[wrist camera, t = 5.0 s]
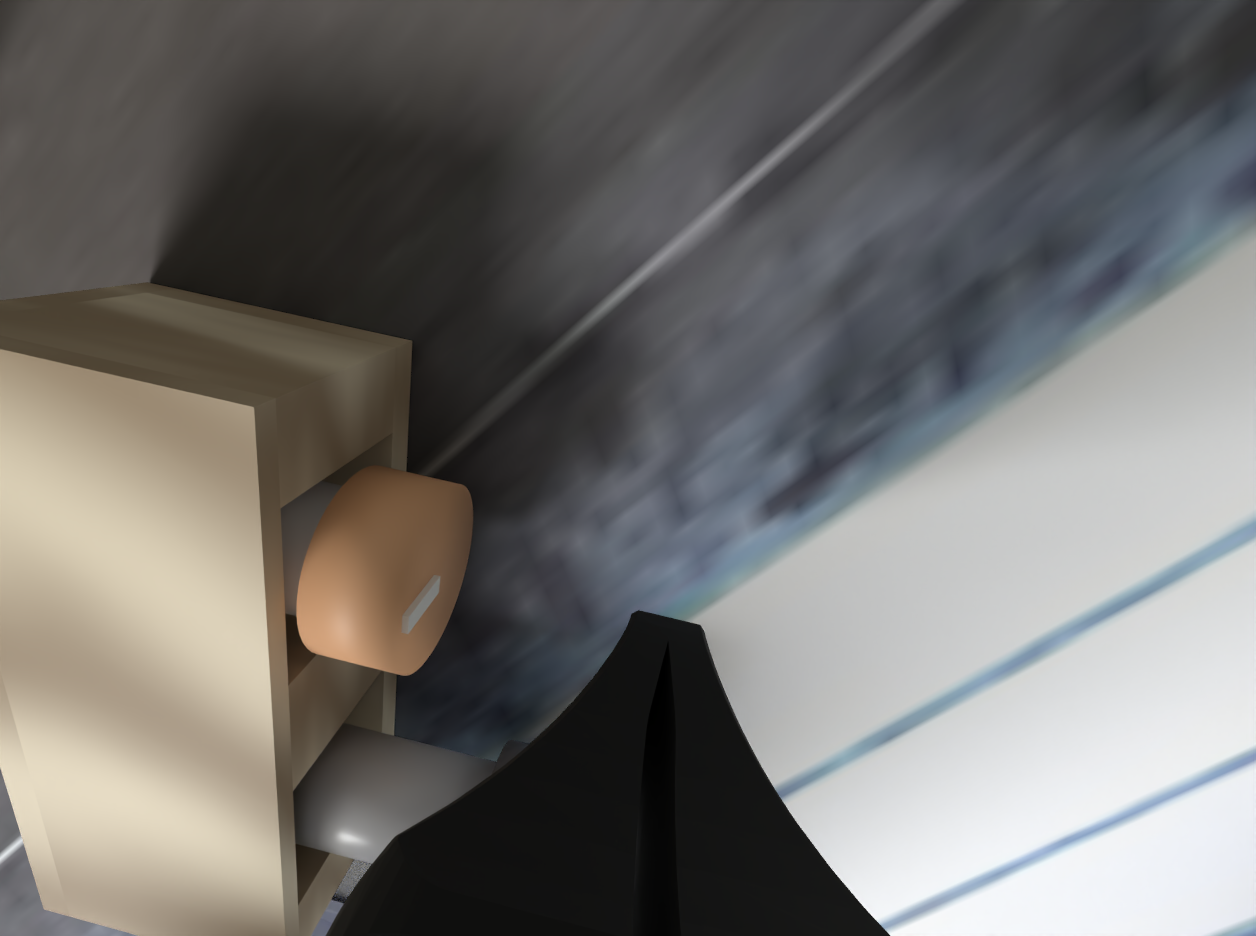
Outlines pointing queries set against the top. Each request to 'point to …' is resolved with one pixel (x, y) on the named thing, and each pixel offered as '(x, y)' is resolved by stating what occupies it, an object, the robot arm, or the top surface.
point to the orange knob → (376, 565)
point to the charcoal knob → (380, 789)
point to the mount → (175, 598)
